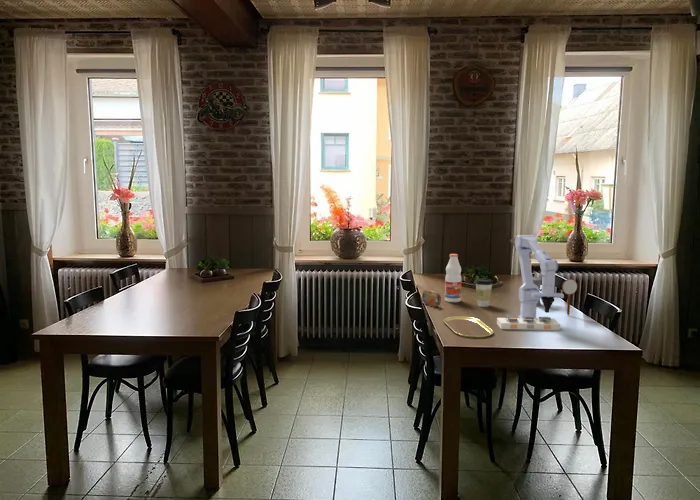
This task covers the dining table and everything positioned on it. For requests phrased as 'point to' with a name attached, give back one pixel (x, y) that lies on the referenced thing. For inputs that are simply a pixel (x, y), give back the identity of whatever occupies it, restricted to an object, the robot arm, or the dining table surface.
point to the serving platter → (471, 320)
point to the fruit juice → (453, 280)
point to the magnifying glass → (569, 290)
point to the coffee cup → (483, 291)
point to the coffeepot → (537, 282)
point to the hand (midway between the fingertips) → (546, 312)
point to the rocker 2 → (545, 318)
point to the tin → (431, 298)
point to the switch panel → (528, 324)
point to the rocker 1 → (511, 317)
